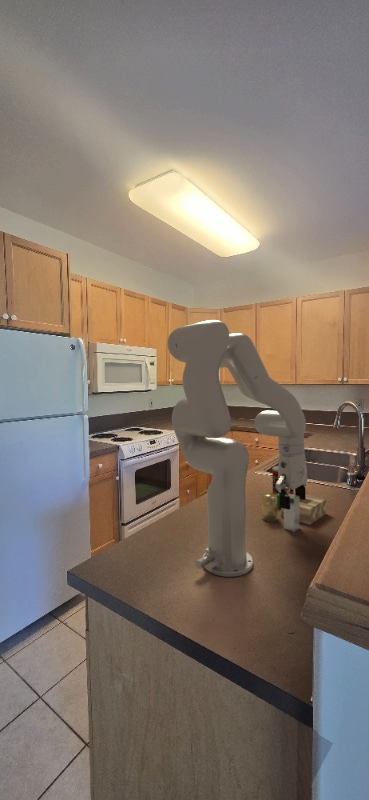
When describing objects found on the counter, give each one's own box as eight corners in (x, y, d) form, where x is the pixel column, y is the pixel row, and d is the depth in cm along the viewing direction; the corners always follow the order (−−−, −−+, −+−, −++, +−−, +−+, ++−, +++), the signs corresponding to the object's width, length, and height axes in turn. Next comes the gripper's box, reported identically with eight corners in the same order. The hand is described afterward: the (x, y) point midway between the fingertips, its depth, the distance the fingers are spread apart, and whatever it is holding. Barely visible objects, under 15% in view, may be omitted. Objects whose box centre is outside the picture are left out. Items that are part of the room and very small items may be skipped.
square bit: (294, 531, 100) (293, 499, 99) (283, 528, 102) (283, 496, 102) (299, 528, 102) (299, 496, 101) (289, 525, 104) (289, 493, 104)
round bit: (272, 522, 106) (271, 498, 106) (258, 518, 110) (258, 494, 110) (280, 518, 110) (279, 494, 109) (267, 514, 113) (266, 491, 113)
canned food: (269, 493, 134) (268, 466, 133) (286, 491, 136) (285, 464, 136) (279, 499, 127) (279, 471, 126) (297, 497, 129) (297, 469, 129)
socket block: (310, 524, 104) (309, 509, 104) (281, 516, 111) (281, 501, 111) (326, 513, 112) (326, 499, 112) (298, 506, 120) (298, 492, 119)
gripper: (288, 456, 92) (290, 515, 93) (315, 444, 104) (317, 497, 105) (264, 452, 98) (267, 509, 99) (293, 442, 110) (295, 492, 111)
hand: (293, 503), depth 102 cm, fingers open, 9 cm apart
